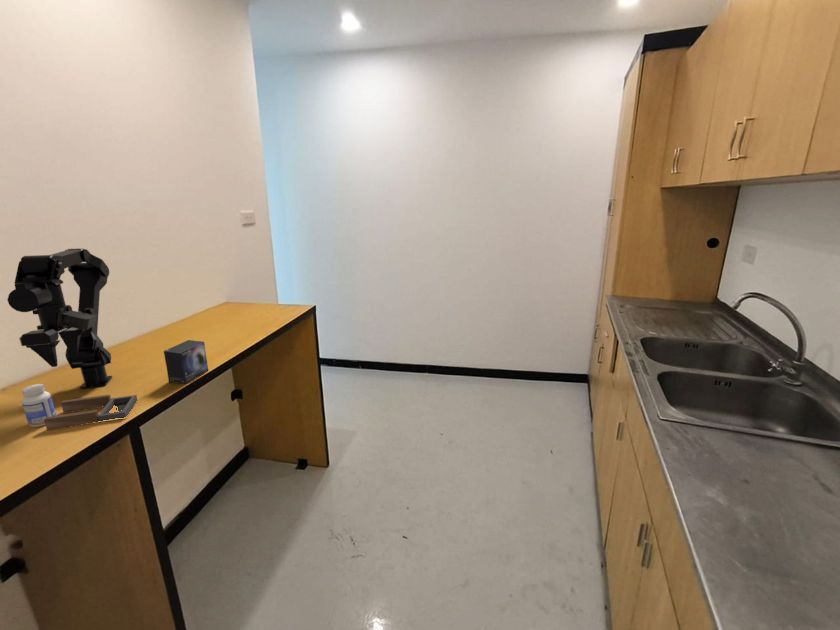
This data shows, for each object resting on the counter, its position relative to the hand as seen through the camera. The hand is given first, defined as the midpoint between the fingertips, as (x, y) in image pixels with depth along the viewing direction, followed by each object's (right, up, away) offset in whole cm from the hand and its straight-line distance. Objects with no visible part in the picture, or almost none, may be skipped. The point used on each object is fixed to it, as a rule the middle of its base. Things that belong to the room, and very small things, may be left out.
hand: (65, 360), depth 108 cm
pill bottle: (-1, -15, -5) cm, 16 cm away
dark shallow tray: (+15, -14, 0) cm, 20 cm away
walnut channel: (+7, -14, -3) cm, 16 cm away
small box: (+22, -8, +21) cm, 31 cm away
